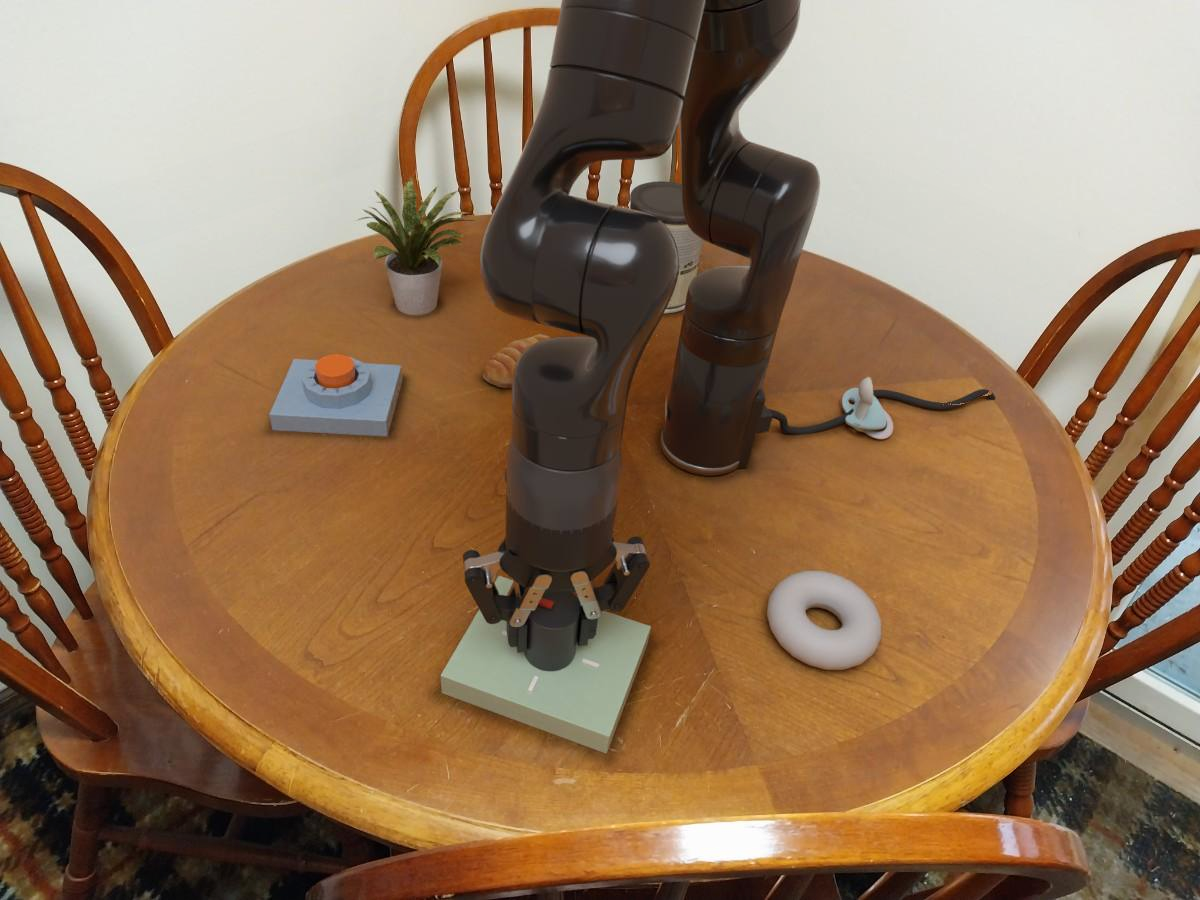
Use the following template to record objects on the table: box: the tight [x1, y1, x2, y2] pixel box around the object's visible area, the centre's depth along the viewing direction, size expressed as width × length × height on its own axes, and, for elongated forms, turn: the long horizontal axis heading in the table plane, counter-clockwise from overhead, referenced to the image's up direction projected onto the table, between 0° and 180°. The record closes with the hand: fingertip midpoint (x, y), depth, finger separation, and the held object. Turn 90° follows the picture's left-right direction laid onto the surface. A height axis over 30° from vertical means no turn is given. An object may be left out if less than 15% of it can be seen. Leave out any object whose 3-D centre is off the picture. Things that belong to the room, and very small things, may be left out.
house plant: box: [355, 175, 476, 316], centre depth 103 cm, size 14×14×16 cm
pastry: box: [482, 333, 551, 389], centre depth 99 cm, size 9×7×4 cm
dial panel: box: [440, 575, 652, 755], centre depth 69 cm, size 14×11×3 cm
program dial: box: [524, 592, 580, 671], centre depth 67 cm, size 4×4×6 cm
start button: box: [315, 353, 356, 389], centre depth 90 cm, size 4×4×2 cm
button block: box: [268, 356, 404, 437], centre depth 92 cm, size 12×10×4 cm
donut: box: [766, 570, 882, 671], centre depth 74 cm, size 10×3×10 cm
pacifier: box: [841, 376, 894, 440], centre depth 97 cm, size 7×6×6 cm
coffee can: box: [629, 180, 704, 315], centre depth 112 cm, size 10×10×14 cm
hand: (551, 639), depth 68 cm, fingers closed on program dial, 4 cm apart
